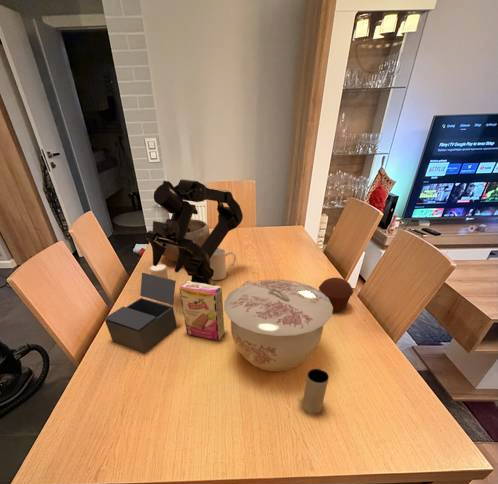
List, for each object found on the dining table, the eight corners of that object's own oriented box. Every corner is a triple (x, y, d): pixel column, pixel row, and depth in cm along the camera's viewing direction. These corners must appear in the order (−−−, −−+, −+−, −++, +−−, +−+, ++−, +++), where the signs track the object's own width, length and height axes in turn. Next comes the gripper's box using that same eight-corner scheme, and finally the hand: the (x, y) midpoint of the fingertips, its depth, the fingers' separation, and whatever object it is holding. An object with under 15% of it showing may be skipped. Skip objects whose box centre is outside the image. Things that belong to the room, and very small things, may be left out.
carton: (146, 317, 102) (140, 295, 96) (177, 327, 97) (172, 304, 92) (112, 341, 91) (103, 318, 86) (145, 353, 87) (138, 329, 82)
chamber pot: (323, 394, 74) (339, 324, 61) (216, 381, 78) (209, 312, 65) (322, 330, 95) (334, 268, 82) (237, 322, 99) (236, 261, 86)
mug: (207, 281, 122) (205, 255, 116) (207, 272, 128) (204, 248, 122) (237, 279, 124) (236, 254, 117) (235, 271, 130) (234, 246, 123)
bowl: (222, 255, 143) (220, 222, 133) (188, 274, 127) (183, 238, 118) (184, 246, 153) (180, 214, 143) (148, 262, 137) (141, 228, 127)
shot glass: (165, 288, 118) (162, 271, 113) (149, 286, 119) (145, 270, 114) (172, 280, 123) (169, 264, 118) (157, 279, 124) (153, 263, 119)
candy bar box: (186, 335, 94) (178, 287, 83) (193, 326, 97) (186, 279, 87) (219, 342, 91) (214, 293, 80) (225, 333, 94) (222, 285, 84)
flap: (140, 295, 96) (141, 295, 96) (172, 305, 92) (173, 305, 92) (142, 272, 94) (142, 272, 94) (175, 280, 89) (175, 280, 90)
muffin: (309, 306, 107) (313, 280, 100) (326, 295, 113) (330, 270, 106) (339, 318, 101) (345, 291, 94) (355, 306, 107) (361, 280, 100)
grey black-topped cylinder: (300, 400, 73) (305, 369, 66) (318, 398, 73) (325, 367, 67) (304, 414, 70) (310, 383, 63) (323, 413, 70) (331, 382, 63)
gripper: (140, 203, 90) (125, 253, 92) (188, 212, 83) (170, 266, 84) (164, 221, 101) (150, 266, 102) (209, 230, 93) (193, 278, 94)
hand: (165, 268), depth 95 cm, fingers open, 9 cm apart
